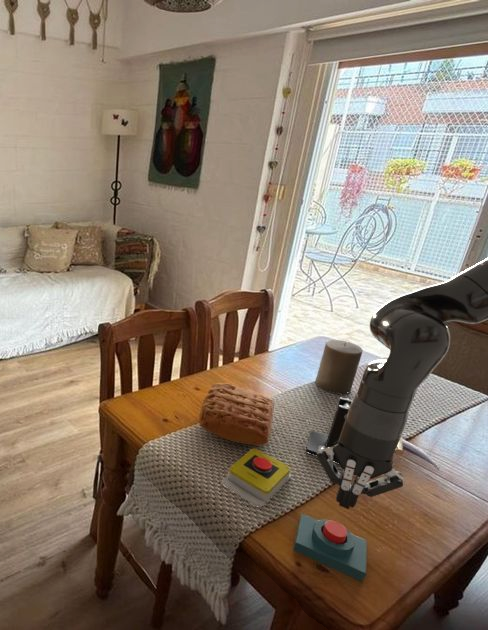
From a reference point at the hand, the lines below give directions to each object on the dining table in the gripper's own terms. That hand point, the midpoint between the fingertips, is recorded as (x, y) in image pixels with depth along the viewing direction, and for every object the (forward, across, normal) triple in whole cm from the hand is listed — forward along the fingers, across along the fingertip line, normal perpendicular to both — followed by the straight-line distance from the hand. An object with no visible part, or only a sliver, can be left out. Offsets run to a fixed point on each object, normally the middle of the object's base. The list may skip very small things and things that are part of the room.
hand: (344, 504), depth 77 cm
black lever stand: (+11, -1, +32) cm, 34 cm away
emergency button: (+11, -15, +11) cm, 22 cm away
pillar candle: (+11, -4, +67) cm, 68 cm away
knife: (+11, +9, +44) cm, 47 cm away
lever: (+2, +4, +32) cm, 32 cm away
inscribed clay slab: (+11, -24, +28) cm, 39 cm away
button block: (+11, 0, 0) cm, 11 cm away
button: (+7, 0, 0) cm, 8 cm away
